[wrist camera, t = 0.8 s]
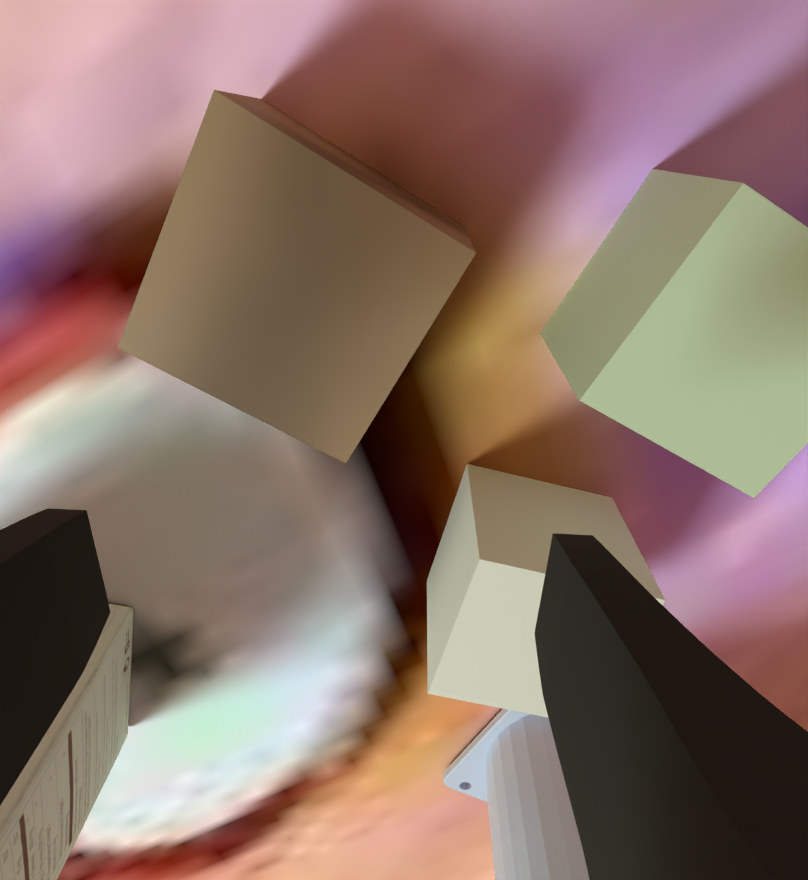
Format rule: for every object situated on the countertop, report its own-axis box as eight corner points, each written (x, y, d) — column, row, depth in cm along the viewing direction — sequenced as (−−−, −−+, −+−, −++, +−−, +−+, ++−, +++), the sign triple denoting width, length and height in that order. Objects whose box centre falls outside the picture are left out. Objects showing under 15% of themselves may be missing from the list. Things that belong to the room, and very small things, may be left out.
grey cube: (611, 496, 20) (665, 599, 16) (558, 607, 22) (591, 726, 18) (466, 462, 20) (479, 559, 15) (426, 579, 22) (427, 693, 17)
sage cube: (796, 265, 17) (933, 314, 12) (674, 410, 19) (753, 498, 14) (651, 168, 16) (743, 183, 11) (539, 332, 18) (579, 400, 13)
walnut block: (464, 226, 16) (476, 252, 13) (360, 400, 19) (345, 463, 15) (263, 99, 15) (214, 89, 12) (178, 303, 18) (117, 347, 14)
